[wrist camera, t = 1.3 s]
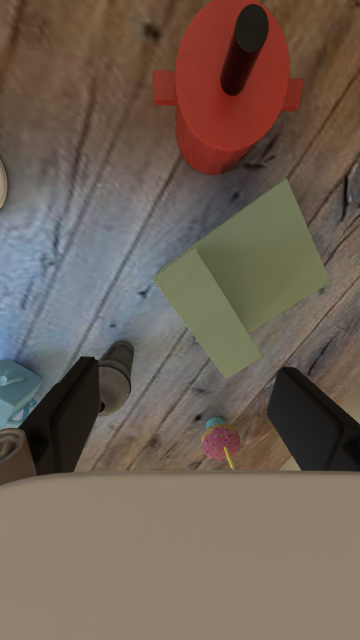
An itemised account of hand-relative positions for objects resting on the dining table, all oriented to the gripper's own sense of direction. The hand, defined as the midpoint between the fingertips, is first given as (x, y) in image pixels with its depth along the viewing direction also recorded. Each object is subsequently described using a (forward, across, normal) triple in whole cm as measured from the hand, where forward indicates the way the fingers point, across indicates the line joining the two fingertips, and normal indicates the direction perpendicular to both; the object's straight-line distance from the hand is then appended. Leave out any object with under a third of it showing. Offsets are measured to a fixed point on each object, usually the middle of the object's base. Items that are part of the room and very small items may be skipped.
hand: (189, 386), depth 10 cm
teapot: (+28, +30, +20) cm, 46 cm away
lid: (+20, -4, -24) cm, 32 cm away
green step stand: (+28, -11, -4) cm, 30 cm away
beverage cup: (+28, +9, +13) cm, 32 cm away
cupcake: (+28, -13, +31) cm, 44 cm away
